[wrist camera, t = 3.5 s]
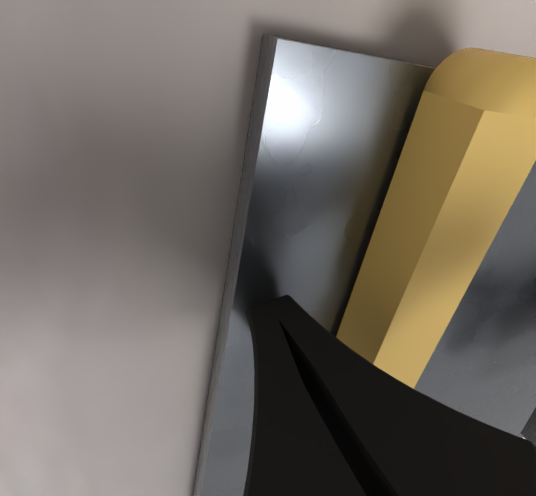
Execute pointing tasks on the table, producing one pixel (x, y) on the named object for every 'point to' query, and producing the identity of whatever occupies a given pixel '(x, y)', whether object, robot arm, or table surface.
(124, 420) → the table surface
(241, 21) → the table surface
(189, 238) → the table surface
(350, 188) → the base
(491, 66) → the lever
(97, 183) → the table surface
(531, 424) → the keeper
